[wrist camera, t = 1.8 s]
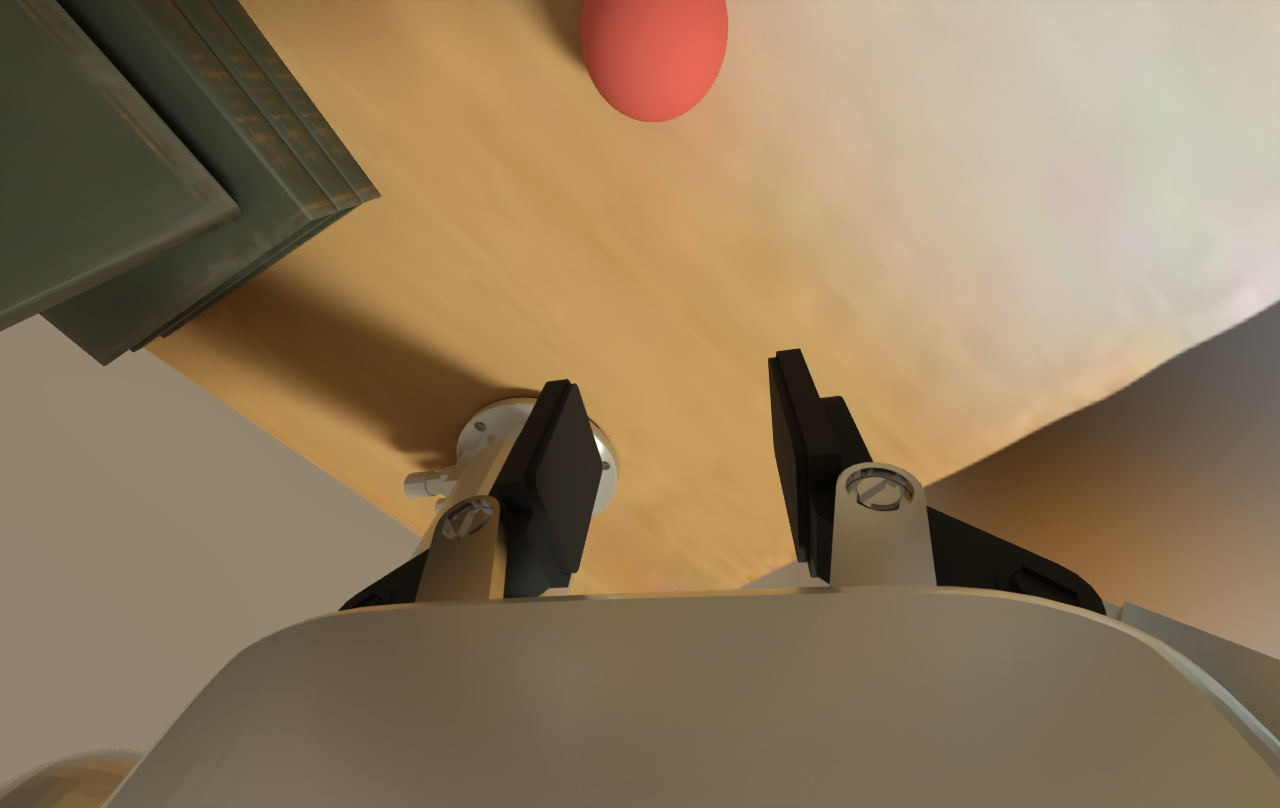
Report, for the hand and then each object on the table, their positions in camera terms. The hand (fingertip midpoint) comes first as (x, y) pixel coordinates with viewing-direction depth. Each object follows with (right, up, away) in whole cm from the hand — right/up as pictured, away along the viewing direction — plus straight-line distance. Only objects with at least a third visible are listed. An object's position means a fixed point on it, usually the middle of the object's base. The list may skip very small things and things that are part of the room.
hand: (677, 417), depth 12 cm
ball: (0, +15, +7) cm, 17 cm away
